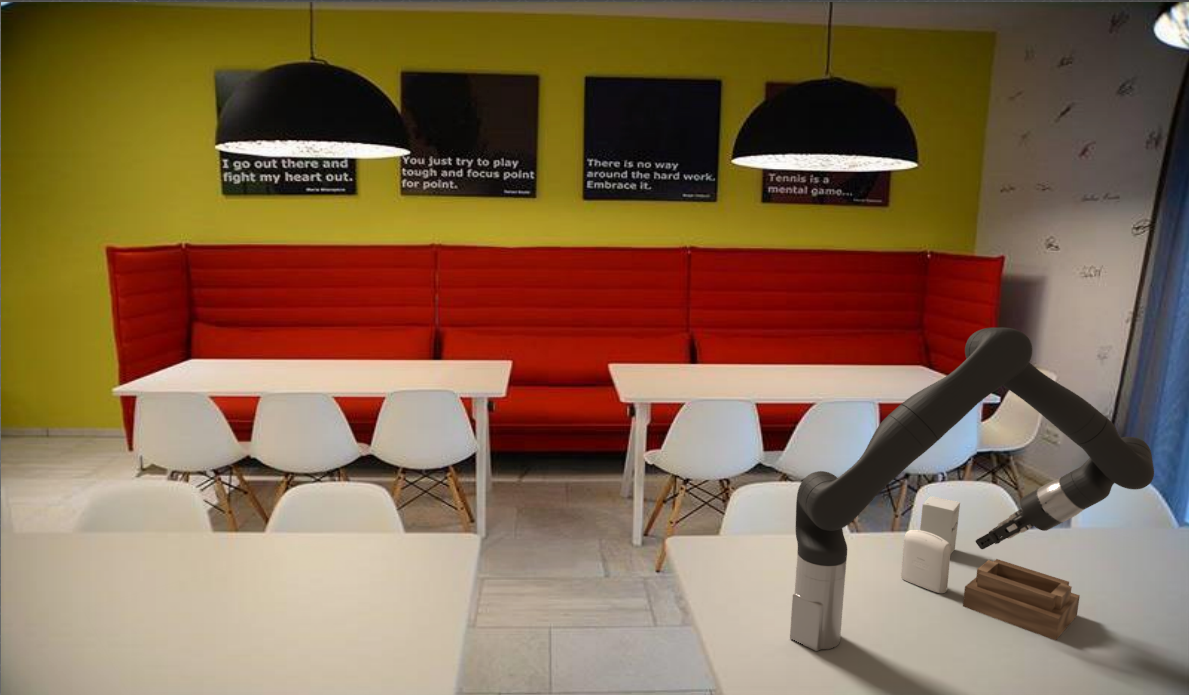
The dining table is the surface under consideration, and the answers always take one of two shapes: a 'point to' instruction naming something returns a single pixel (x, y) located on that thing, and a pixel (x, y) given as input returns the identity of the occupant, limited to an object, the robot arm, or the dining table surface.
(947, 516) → the supplement box
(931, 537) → the photo printer
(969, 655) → the dining table surface
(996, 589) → the wooden holder
